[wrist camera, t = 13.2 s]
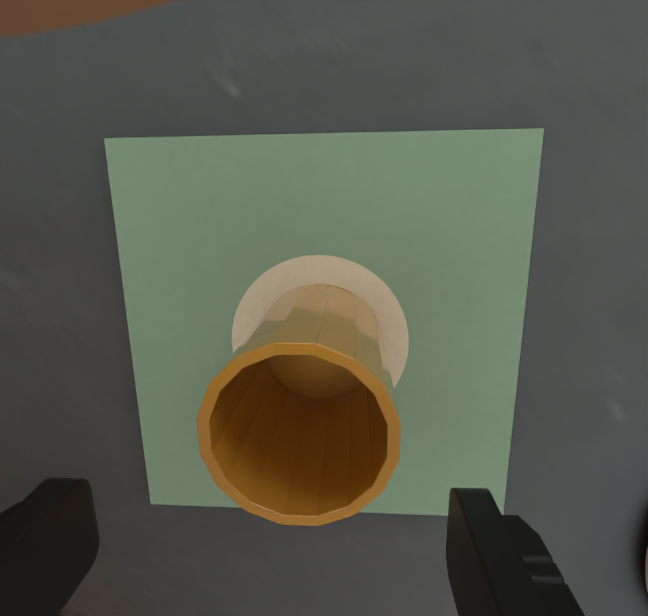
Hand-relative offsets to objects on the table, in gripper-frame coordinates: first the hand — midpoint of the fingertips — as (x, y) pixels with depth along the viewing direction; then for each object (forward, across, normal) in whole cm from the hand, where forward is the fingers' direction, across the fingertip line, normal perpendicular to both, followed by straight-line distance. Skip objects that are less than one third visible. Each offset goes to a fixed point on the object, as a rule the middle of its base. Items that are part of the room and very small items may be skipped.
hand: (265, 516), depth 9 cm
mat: (+13, 0, 0) cm, 13 cm away
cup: (+13, 0, 0) cm, 13 cm away
